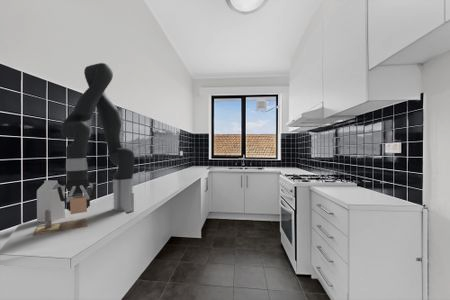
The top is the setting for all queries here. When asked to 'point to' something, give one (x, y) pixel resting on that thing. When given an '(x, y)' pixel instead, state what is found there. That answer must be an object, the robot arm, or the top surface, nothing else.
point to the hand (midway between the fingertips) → (78, 209)
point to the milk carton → (50, 201)
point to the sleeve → (78, 204)
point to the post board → (58, 225)
